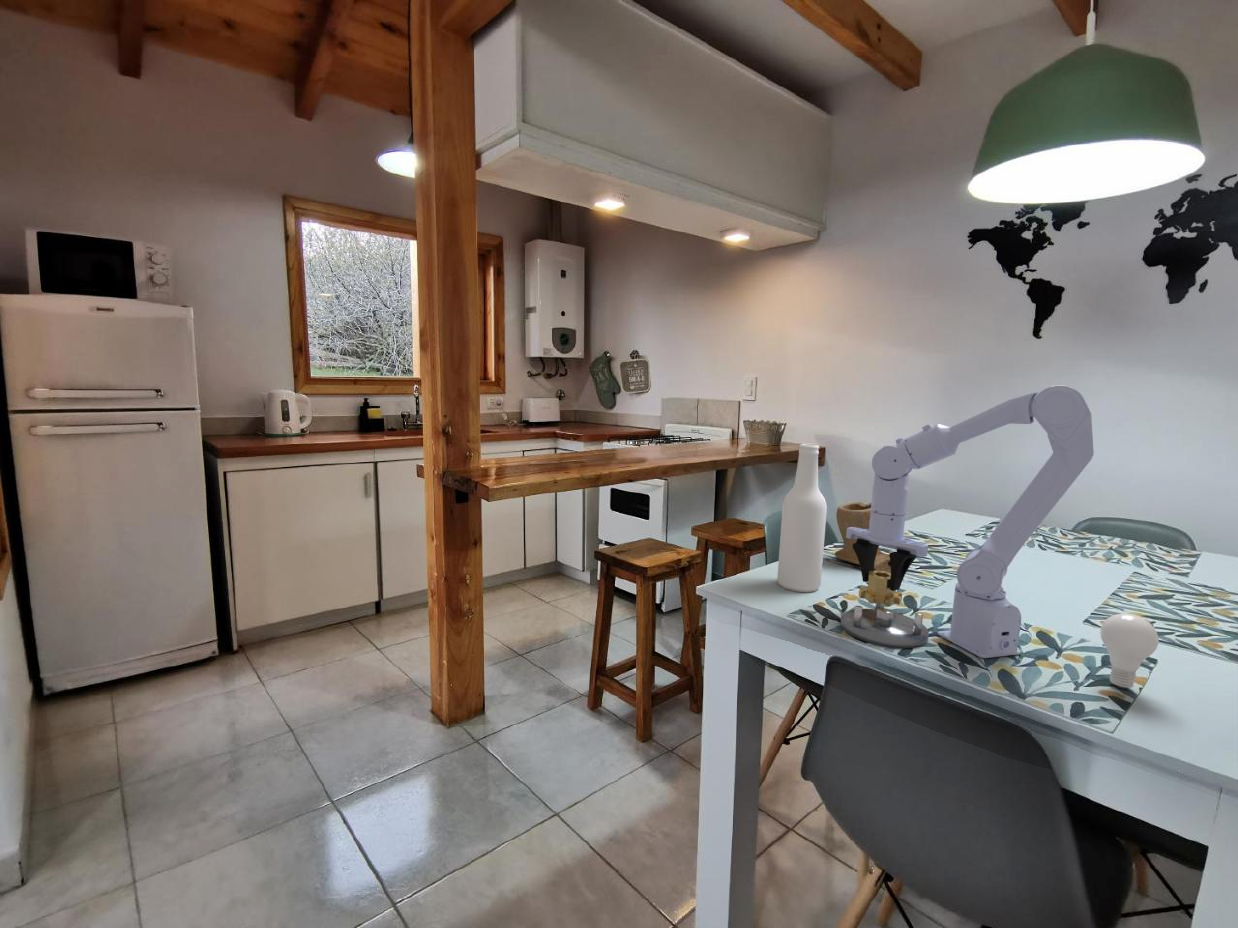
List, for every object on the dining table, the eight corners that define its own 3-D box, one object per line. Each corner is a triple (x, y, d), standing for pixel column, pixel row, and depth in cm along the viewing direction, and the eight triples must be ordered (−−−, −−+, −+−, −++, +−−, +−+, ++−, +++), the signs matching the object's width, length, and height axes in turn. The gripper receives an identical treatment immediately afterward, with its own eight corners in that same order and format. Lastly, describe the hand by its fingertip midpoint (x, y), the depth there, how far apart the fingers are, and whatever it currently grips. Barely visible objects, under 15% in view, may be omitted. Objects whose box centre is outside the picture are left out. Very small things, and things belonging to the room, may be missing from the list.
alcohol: (829, 589, 125) (841, 446, 121) (800, 595, 121) (811, 448, 116) (796, 576, 133) (807, 441, 128) (768, 582, 128) (777, 443, 124)
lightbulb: (1158, 702, 83) (1170, 627, 82) (1102, 692, 85) (1113, 619, 84) (1138, 681, 89) (1149, 611, 87) (1086, 672, 91) (1096, 603, 90)
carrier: (947, 643, 100) (950, 617, 99) (876, 651, 96) (879, 623, 96) (888, 612, 113) (891, 588, 113) (824, 617, 110) (826, 593, 109)
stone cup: (821, 559, 147) (826, 499, 144) (855, 554, 152) (860, 496, 150) (873, 578, 133) (879, 512, 131) (908, 571, 139) (915, 508, 137)
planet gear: (910, 603, 108) (913, 579, 107) (878, 607, 105) (881, 583, 105) (881, 589, 114) (883, 566, 114) (850, 593, 112) (852, 570, 111)
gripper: (940, 518, 104) (931, 593, 106) (864, 502, 115) (857, 570, 117) (918, 522, 100) (910, 600, 102) (842, 506, 111) (836, 576, 113)
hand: (880, 585), depth 109 cm, fingers closed on planet gear, 5 cm apart
